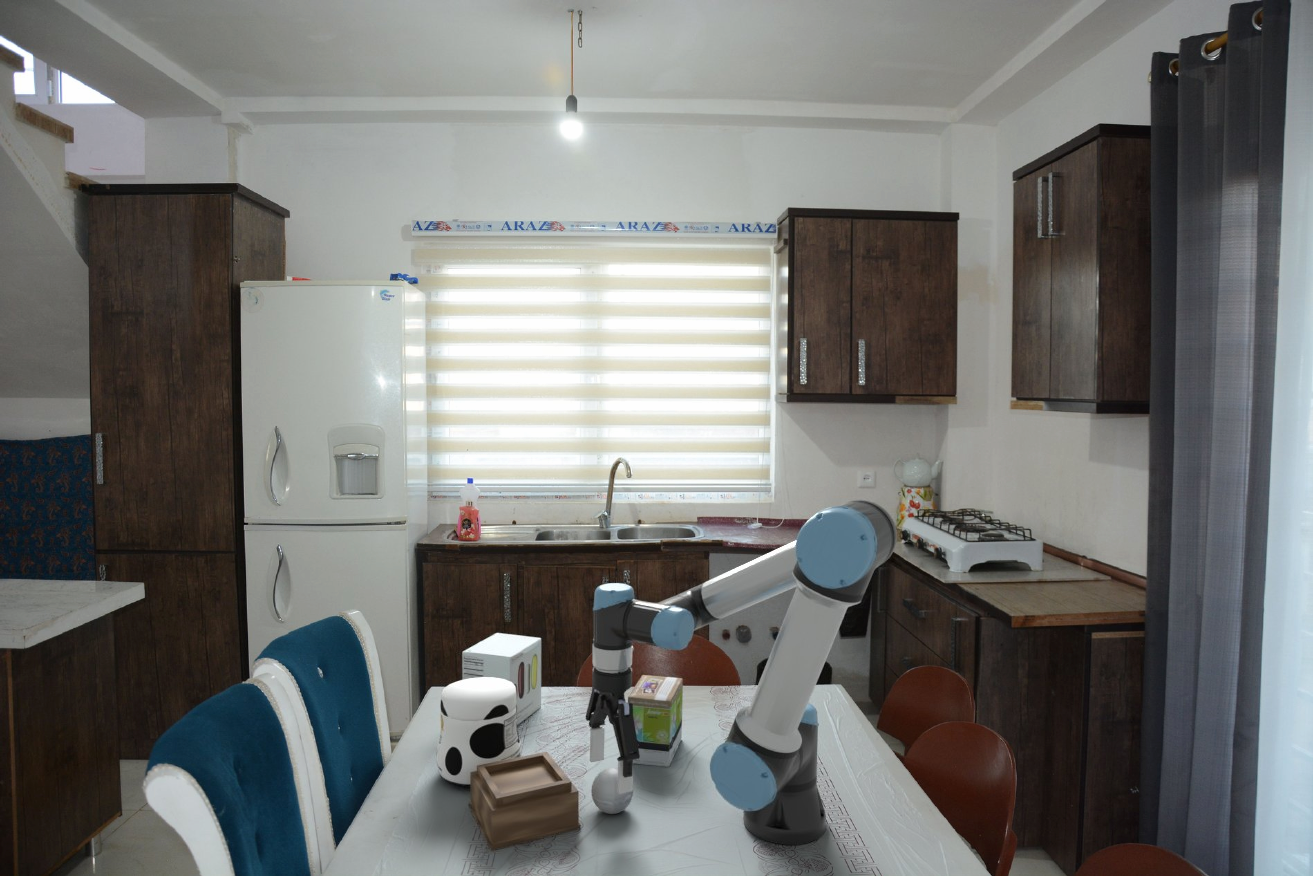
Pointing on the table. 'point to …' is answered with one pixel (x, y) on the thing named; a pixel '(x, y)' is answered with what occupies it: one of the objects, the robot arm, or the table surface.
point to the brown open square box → (523, 800)
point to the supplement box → (509, 667)
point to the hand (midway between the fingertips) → (610, 775)
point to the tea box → (657, 718)
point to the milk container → (476, 726)
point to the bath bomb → (609, 792)
